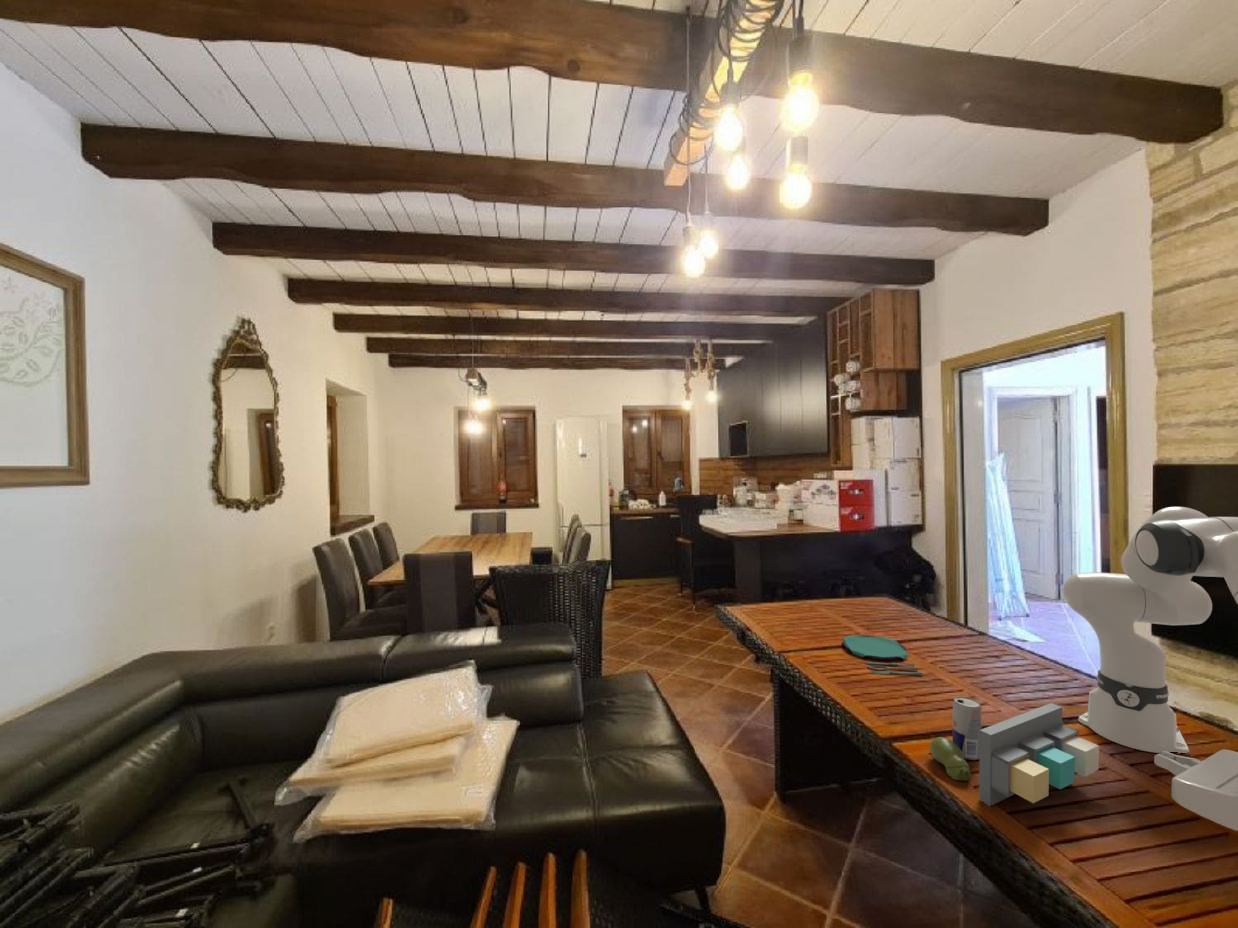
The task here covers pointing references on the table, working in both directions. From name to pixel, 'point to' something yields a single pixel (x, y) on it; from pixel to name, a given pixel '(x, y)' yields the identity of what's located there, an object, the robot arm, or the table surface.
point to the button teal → (1057, 766)
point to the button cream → (1082, 754)
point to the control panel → (1017, 747)
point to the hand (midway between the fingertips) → (1158, 756)
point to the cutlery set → (879, 652)
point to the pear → (950, 758)
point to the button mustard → (1029, 780)
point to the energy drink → (967, 726)
